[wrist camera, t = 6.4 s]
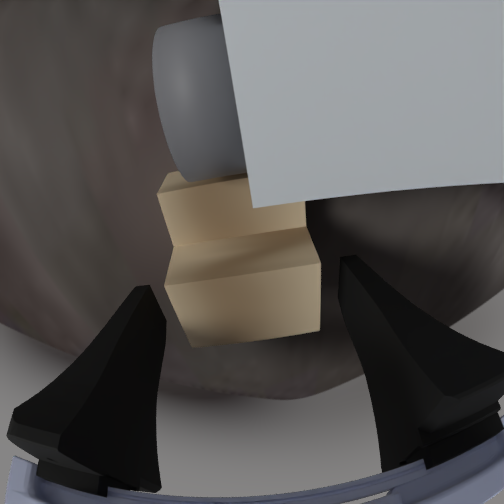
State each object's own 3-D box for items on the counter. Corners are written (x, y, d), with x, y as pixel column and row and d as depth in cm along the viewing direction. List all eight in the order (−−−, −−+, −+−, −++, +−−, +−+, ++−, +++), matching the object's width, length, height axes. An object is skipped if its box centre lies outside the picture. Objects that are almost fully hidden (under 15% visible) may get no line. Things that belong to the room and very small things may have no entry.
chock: (291, 151, 10) (319, 198, 7) (299, 261, 13) (319, 330, 10) (168, 171, 11) (140, 226, 7) (199, 276, 13) (192, 348, 10)
